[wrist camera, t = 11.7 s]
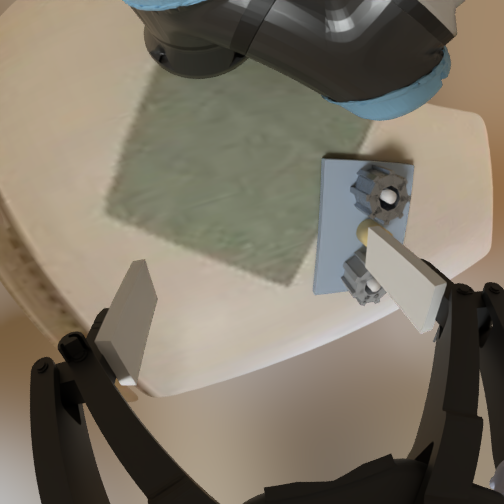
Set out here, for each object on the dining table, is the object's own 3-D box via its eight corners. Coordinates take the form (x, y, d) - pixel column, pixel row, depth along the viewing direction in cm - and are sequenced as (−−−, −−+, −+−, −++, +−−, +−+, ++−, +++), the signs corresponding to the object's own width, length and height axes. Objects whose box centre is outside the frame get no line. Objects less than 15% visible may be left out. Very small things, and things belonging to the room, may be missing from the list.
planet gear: (357, 220, 41) (373, 232, 36) (344, 175, 38) (360, 183, 33) (395, 202, 40) (413, 212, 36) (385, 158, 37) (404, 164, 32)
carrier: (321, 158, 37) (342, 165, 31) (409, 164, 39) (437, 173, 32) (312, 291, 47) (326, 317, 40) (390, 281, 48) (410, 302, 42)
